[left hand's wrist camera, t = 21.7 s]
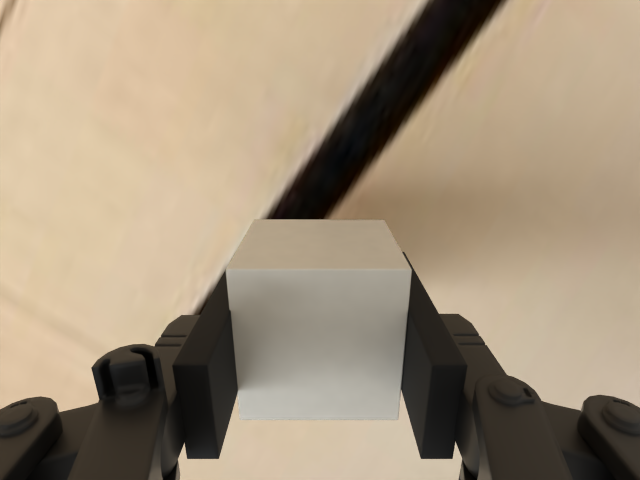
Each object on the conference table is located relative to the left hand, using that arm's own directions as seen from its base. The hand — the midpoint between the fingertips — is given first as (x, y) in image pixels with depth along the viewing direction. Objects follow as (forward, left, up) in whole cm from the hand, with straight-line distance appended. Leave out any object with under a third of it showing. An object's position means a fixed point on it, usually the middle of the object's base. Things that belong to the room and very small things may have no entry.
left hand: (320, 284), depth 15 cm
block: (0, 0, 0) cm, 0 cm away
